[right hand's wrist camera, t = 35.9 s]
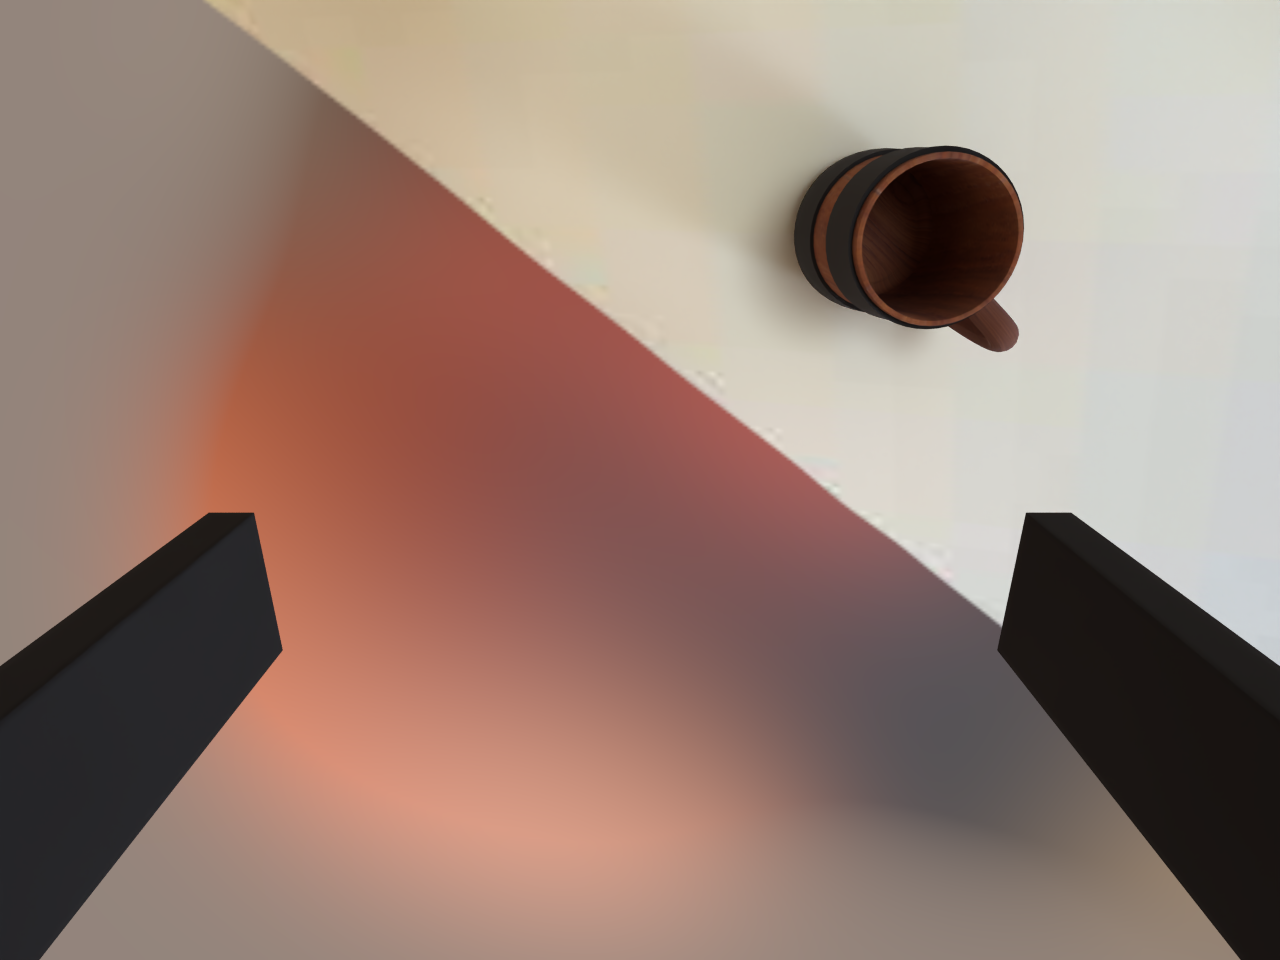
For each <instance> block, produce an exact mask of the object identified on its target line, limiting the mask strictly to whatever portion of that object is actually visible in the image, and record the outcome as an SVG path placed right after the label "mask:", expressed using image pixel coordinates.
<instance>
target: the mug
mask: <svg viewBox="0 0 1280 960" xmlns="http://www.w3.org/2000/svg"><path fill="white" fill-rule="evenodd" d="M1023 233H1024V221H1023V212H1022V207H1021V203H1020V200H1019V197H1018V194H1017V192H1016V190H1015V188H1014V186H1013V183H1012V182H1011V181H1010V179H1009V178H1008V176H1007V175H1006V173H1005V172H1004V171H1003V170H1002V169H1001V168H1000V167H999V166H998V165H997V164H995V163H994V162H993V161H992V160H990V159H989V158H987V157H986V156H984V155H982V154H980V153H978V152H975V151H973V150H970V149H967V148H962V147H957V146H936V147H914V148H904V149H891V148H882V149H872V150H867V151H862V152H858V153H855V154H853V155H850V156H847V157H845V158H843V159H841V160H840V161H838V162H836V163H835V164H833V165H832V166H830V167H829V168H828V169H826V170H825V171H824V172H823V173H822V174H821V175H820V176H819V177H818V178H817V179H816V181H815V182H814V183H813V184H812V186H811V187H810V189H809V190H808V192H807V193H806V195H805V197H804V199H803V201H802V203H801V206H800V208H799V211H798V214H797V218H796V223H795V231H794V244H795V251H796V256H797V259H798V263H799V265H800V267H801V270H802V272H803V274H804V275H805V277H806V279H807V280H808V281H809V282H810V284H811V285H812V286H813V287H814V288H815V289H816V290H817V291H818V292H819V293H820V294H822V295H823V296H825V297H826V298H828V299H829V300H831V301H833V302H835V303H837V304H839V305H841V306H844V307H847V308H850V309H854V310H857V311H862V312H866V313H868V314H870V315H873V316H876V317H879V318H883V319H887V320H890V321H892V322H894V323H897V324H900V325H902V326H906V327H911V328H916V329H935V328H941V327H946V326H949V327H950V328H952V329H953V330H955V331H956V332H958V333H959V334H961V335H962V336H964V337H966V338H967V339H969V340H971V341H972V342H974V343H976V344H978V345H979V346H981V347H983V348H986V349H988V350H991V351H995V352H1002V351H1007V350H1009V349H1010V348H1012V347H1013V346H1014V345H1015V344H1016V342H1017V339H1018V336H1019V331H1018V327H1017V325H1016V324H1015V322H1014V321H1013V320H1012V318H1011V317H1010V316H1009V315H1008V314H1007V313H1006V311H1005V310H1004V309H1003V308H1002V307H1001V306H1000V305H999V304H998V303H997V302H996V301H995V300H994V297H995V296H996V295H997V294H998V293H999V292H1000V291H1001V290H1002V288H1003V287H1004V286H1005V284H1006V283H1007V281H1008V280H1009V278H1010V276H1011V275H1012V273H1013V271H1014V268H1015V266H1016V264H1017V261H1018V258H1019V255H1020V252H1021V247H1022V242H1023Z"/></svg>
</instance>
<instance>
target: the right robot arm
mask: <svg viewBox="0 0 1280 960" xmlns="http://www.w3.org/2000/svg"><path fill="white" fill-rule="evenodd" d="M281 652H282V645H281V640H280V635H279V630H278V626H277V621H276V616H275V611H274V606H273V602H272V597H271V592H270V587H269V582H268V578H267V573H266V568H265V563H264V559H263V554H262V549H261V544H260V540H259V535H258V530H257V525H256V521H255V516H254V513H208V514H207V515H205V516H204V517H202V518H201V519H200V520H198V521H197V522H196V523H194V524H193V525H192V526H190V527H189V528H187V529H186V530H185V531H183V532H182V533H181V534H179V535H178V536H177V537H175V538H174V539H173V540H171V541H170V542H168V543H167V544H166V545H164V546H163V547H162V548H160V549H159V550H158V551H156V552H155V553H153V554H152V555H151V556H149V557H148V558H147V559H145V560H144V561H143V562H141V563H140V564H138V565H137V566H136V567H134V568H133V569H132V570H130V571H129V572H128V573H126V574H125V575H124V576H122V577H121V578H120V579H118V580H117V581H115V582H114V583H113V584H111V585H110V586H109V587H107V588H106V589H104V590H103V591H102V592H100V593H99V594H98V595H96V596H95V597H94V598H92V599H91V600H90V601H88V602H87V603H86V604H84V605H83V606H81V607H80V608H79V609H77V610H76V611H75V612H73V613H72V614H71V615H69V616H68V617H67V618H65V619H64V620H62V621H61V622H60V623H58V624H57V625H56V626H54V627H53V628H51V629H50V630H49V631H47V632H46V633H45V634H43V635H42V636H41V637H39V638H38V639H37V640H35V641H34V642H32V643H31V644H30V645H28V646H27V647H26V648H24V649H23V650H22V651H20V652H19V653H18V654H16V655H15V656H13V657H12V658H11V659H9V660H8V661H7V662H5V663H4V664H3V665H1V666H0V960H39V959H40V958H41V957H42V956H43V954H44V953H45V952H46V951H47V949H48V948H49V947H50V945H51V944H52V943H53V942H54V940H55V939H56V938H57V937H58V935H59V934H60V933H61V932H62V930H63V929H64V928H65V926H66V925H67V924H68V923H69V921H70V920H71V919H72V918H73V916H74V915H75V914H76V912H77V911H78V910H79V909H80V907H81V906H82V905H83V903H84V902H85V901H86V900H87V898H88V897H89V896H90V895H91V893H92V892H93V891H94V890H95V888H96V887H97V886H98V884H99V883H100V882H101V881H102V879H103V878H104V877H105V876H106V874H107V873H108V872H109V870H110V869H111V868H112V867H113V865H114V864H115V863H116V862H117V860H118V859H119V858H120V856H121V855H122V854H123V853H124V851H125V850H126V849H127V848H128V846H129V845H130V844H131V843H132V841H133V840H134V839H135V837H136V836H137V835H138V834H139V832H140V831H141V830H142V829H143V827H144V826H145V825H146V823H147V822H148V821H149V820H150V818H151V817H152V816H153V815H154V813H155V812H156V811H157V809H158V808H159V807H160V806H161V804H162V803H163V802H164V801H165V799H166V798H167V797H168V795H169V794H170V793H171V792H172V790H173V789H174V788H175V786H176V785H177V784H178V783H179V781H180V780H181V779H182V778H183V776H184V775H185V774H186V773H187V771H188V770H189V769H190V767H191V766H192V765H193V764H194V762H195V761H196V760H197V759H198V757H199V756H200V755H201V753H202V752H203V751H204V750H205V748H206V747H207V746H208V745H209V743H210V742H211V741H212V739H213V738H214V737H215V736H216V734H217V733H218V732H219V731H220V729H221V728H222V727H223V725H224V724H225V723H226V722H227V720H228V719H229V718H230V717H231V715H232V714H233V713H234V711H235V710H236V709H237V708H238V706H239V705H240V704H241V702H242V701H243V700H244V699H245V697H246V696H247V695H248V694H249V692H250V691H251V690H252V689H253V687H254V686H255V685H256V683H257V682H258V681H259V680H260V678H261V677H262V676H263V675H264V673H265V672H266V671H267V669H268V668H269V667H270V666H271V664H272V663H273V662H274V660H275V659H276V658H277V657H278V655H279V654H280V653H281ZM998 652H999V653H1000V654H1001V655H1002V657H1003V658H1004V659H1005V661H1006V662H1007V663H1008V664H1009V666H1010V667H1011V668H1012V669H1013V671H1014V672H1015V673H1016V675H1017V676H1018V677H1019V678H1020V680H1021V681H1022V682H1023V683H1024V685H1025V686H1026V687H1027V689H1028V690H1029V691H1030V692H1031V694H1032V695H1033V696H1034V697H1035V699H1036V700H1037V701H1038V703H1039V704H1040V705H1041V706H1042V708H1043V709H1044V710H1045V711H1046V713H1047V714H1048V715H1049V717H1050V718H1051V719H1052V720H1053V722H1054V723H1055V724H1056V725H1057V727H1058V728H1059V729H1060V731H1061V732H1062V733H1063V734H1064V736H1065V737H1066V738H1067V739H1068V741H1069V742H1070V743H1071V745H1072V746H1073V747H1074V748H1075V750H1076V751H1077V752H1078V753H1079V755H1080V756H1081V757H1082V759H1083V760H1084V761H1085V762H1086V764H1087V765H1088V766H1089V767H1090V769H1091V770H1092V771H1093V773H1094V774H1095V775H1096V776H1097V778H1098V779H1099V780H1100V781H1101V783H1102V784H1103V785H1104V787H1105V788H1106V789H1107V790H1108V792H1109V793H1110V794H1111V795H1112V797H1113V798H1114V799H1115V800H1116V802H1117V803H1118V804H1119V806H1120V807H1121V808H1122V809H1123V811H1124V812H1125V813H1126V815H1127V816H1128V817H1129V818H1130V820H1131V821H1132V822H1133V823H1134V825H1135V826H1136V827H1137V829H1138V830H1139V831H1140V832H1141V834H1142V835H1143V836H1144V837H1145V839H1146V840H1147V841H1148V843H1149V844H1150V845H1151V846H1152V848H1153V849H1154V850H1155V851H1156V853H1157V854H1158V855H1159V857H1160V858H1161V859H1162V860H1163V862H1164V863H1165V864H1166V865H1167V867H1168V868H1169V869H1170V870H1171V872H1172V873H1173V874H1174V875H1175V877H1176V878H1177V879H1178V881H1179V882H1180V883H1181V884H1182V886H1183V887H1184V888H1185V890H1186V891H1187V892H1188V893H1189V895H1190V896H1191V897H1192V898H1193V900H1194V901H1195V902H1196V904H1197V905H1198V906H1199V907H1200V909H1201V910H1202V911H1203V912H1204V914H1205V915H1206V916H1207V918H1208V919H1209V920H1210V921H1211V923H1212V924H1213V925H1214V926H1215V928H1216V929H1217V930H1218V932H1219V933H1220V934H1221V935H1222V937H1223V938H1224V939H1225V940H1226V942H1227V943H1228V944H1229V946H1230V947H1231V948H1232V949H1233V951H1234V952H1235V953H1236V954H1237V956H1238V957H1239V958H1240V960H1280V666H1279V665H1277V664H1276V663H1275V662H1273V661H1272V660H1271V659H1269V658H1268V657H1267V656H1265V655H1264V654H1263V653H1261V652H1260V651H1258V650H1257V649H1256V648H1254V647H1253V646H1252V645H1250V644H1249V643H1248V642H1246V641H1245V640H1243V639H1242V638H1241V637H1239V636H1238V635H1237V634H1235V633H1234V632H1233V631H1231V630H1230V629H1229V628H1227V627H1226V626H1224V625H1223V624H1222V623H1220V622H1219V621H1218V620H1216V619H1215V618H1214V617H1212V616H1211V615H1209V614H1208V613H1207V612H1205V611H1204V610H1203V609H1201V608H1200V607H1199V606H1197V605H1196V604H1195V603H1193V602H1192V601H1190V600H1189V599H1188V598H1186V597H1185V596H1184V595H1182V594H1181V593H1180V592H1178V591H1177V590H1175V589H1174V588H1173V587H1171V586H1170V585H1169V584H1167V583H1166V582H1165V581H1163V580H1162V579H1161V578H1159V577H1158V576H1156V575H1155V574H1154V573H1152V572H1151V571H1150V570H1148V569H1147V568H1146V567H1144V566H1143V565H1142V564H1140V563H1139V562H1137V561H1136V560H1135V559H1133V558H1132V557H1131V556H1129V555H1128V554H1127V553H1125V552H1124V551H1122V550H1121V549H1120V548H1118V547H1117V546H1116V545H1114V544H1113V543H1112V542H1110V541H1109V540H1108V539H1106V538H1105V537H1103V536H1102V535H1101V534H1099V533H1098V532H1097V531H1095V530H1094V529H1093V528H1091V527H1090V526H1088V525H1087V524H1086V523H1084V522H1083V521H1082V520H1080V519H1079V518H1078V517H1076V516H1075V515H1074V514H1072V513H1026V515H1025V520H1024V525H1023V530H1022V535H1021V539H1020V544H1019V549H1018V554H1017V559H1016V563H1015V568H1014V573H1013V578H1012V582H1011V587H1010V592H1009V597H1008V602H1007V606H1006V611H1005V616H1004V621H1003V626H1002V630H1001V635H1000V640H999V645H998Z"/></svg>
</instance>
